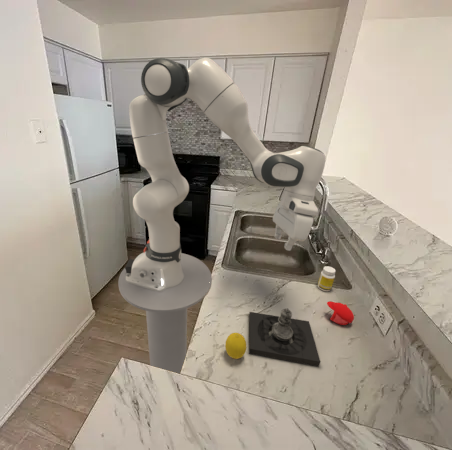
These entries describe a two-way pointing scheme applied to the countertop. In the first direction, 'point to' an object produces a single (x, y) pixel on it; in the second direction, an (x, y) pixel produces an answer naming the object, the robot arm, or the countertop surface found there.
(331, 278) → the supplement bottle
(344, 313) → the cap
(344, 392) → the countertop surface
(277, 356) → the pad
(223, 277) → the countertop surface
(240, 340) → the lemon
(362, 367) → the countertop surface
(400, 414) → the countertop surface
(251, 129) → the robot arm
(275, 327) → the dark grey statuette
